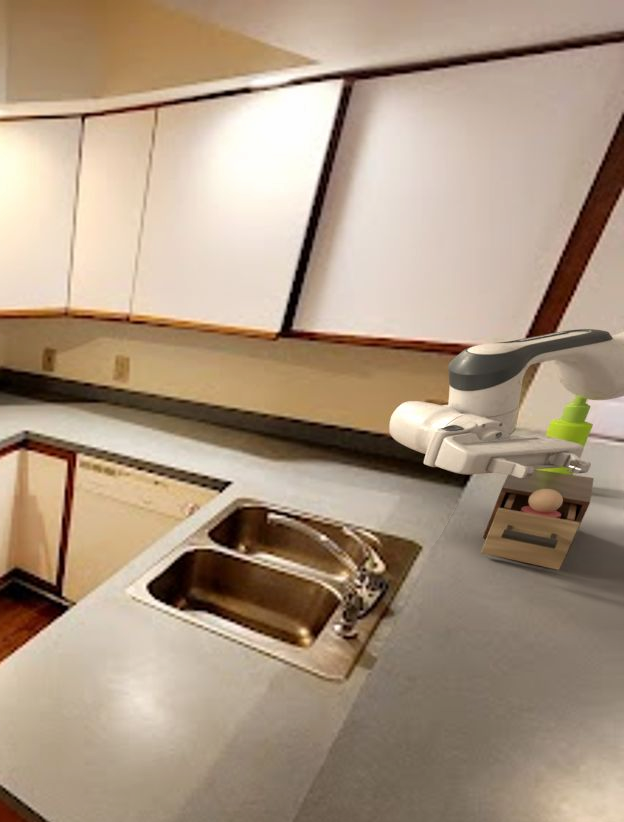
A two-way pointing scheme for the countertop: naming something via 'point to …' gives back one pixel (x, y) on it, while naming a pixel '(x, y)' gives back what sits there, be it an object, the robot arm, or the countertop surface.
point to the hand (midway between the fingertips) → (557, 470)
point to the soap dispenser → (571, 427)
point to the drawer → (531, 534)
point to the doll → (544, 503)
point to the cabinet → (565, 484)
